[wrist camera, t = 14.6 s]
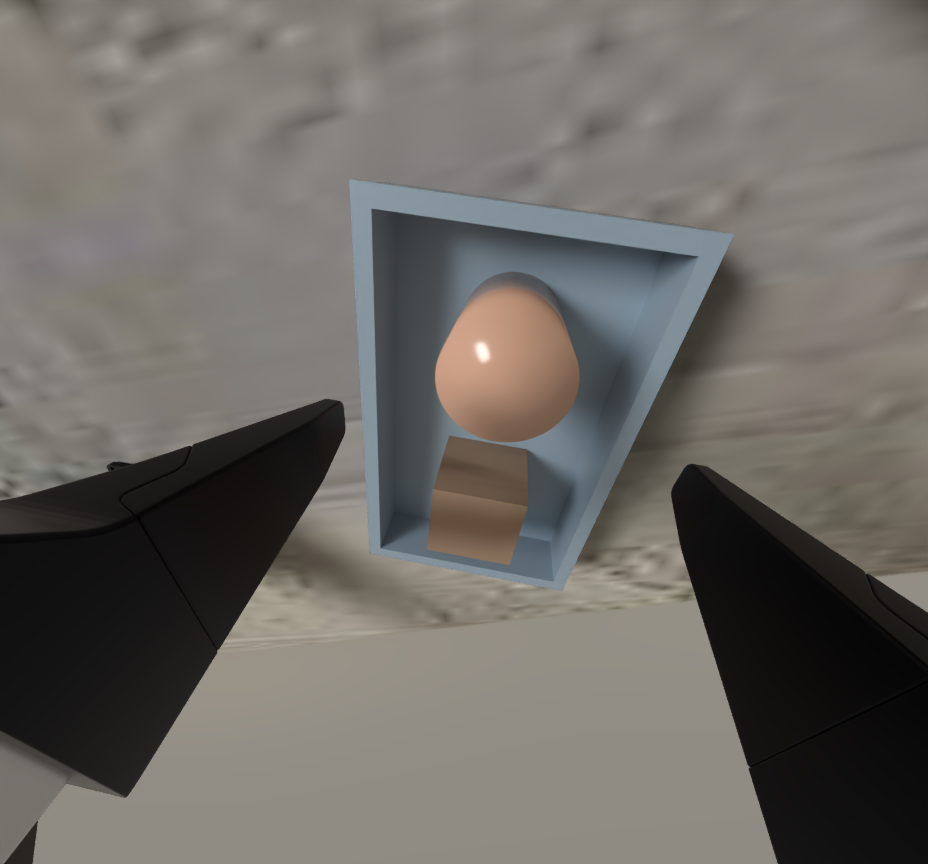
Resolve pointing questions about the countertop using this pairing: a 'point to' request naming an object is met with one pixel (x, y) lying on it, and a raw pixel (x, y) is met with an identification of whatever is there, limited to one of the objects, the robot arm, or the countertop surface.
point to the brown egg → (508, 361)
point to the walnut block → (479, 500)
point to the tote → (589, 327)
